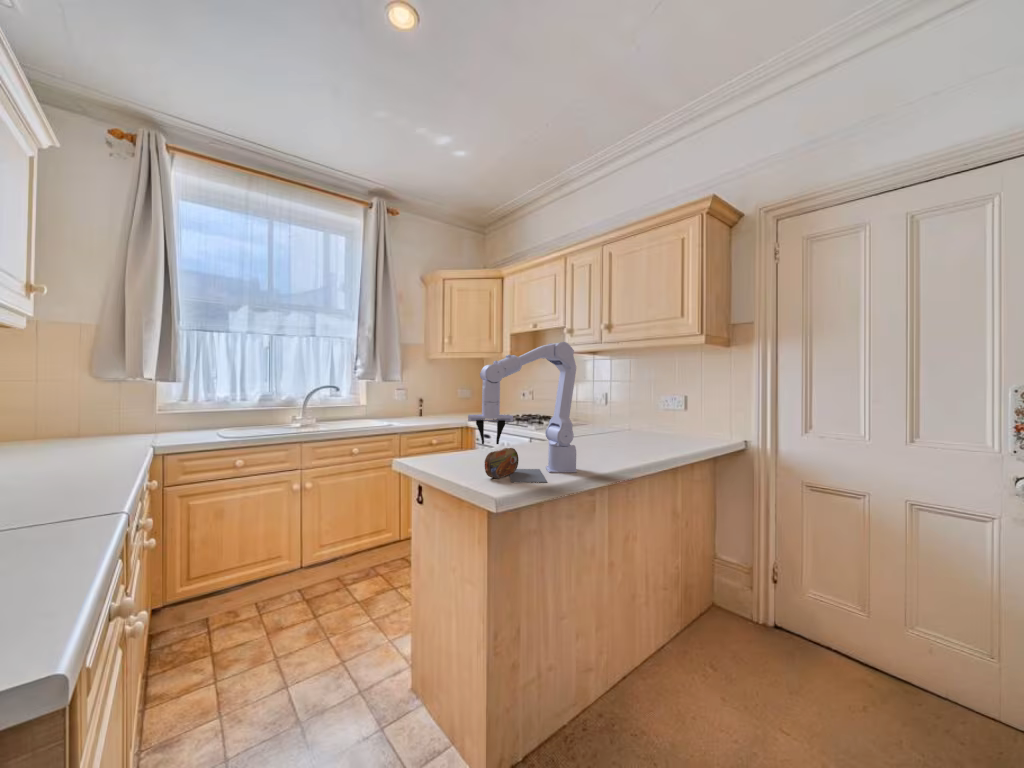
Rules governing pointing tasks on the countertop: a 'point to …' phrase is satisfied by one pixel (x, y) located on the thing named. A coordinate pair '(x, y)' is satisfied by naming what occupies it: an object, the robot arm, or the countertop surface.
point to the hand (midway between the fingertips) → (490, 443)
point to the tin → (501, 462)
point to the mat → (528, 476)
